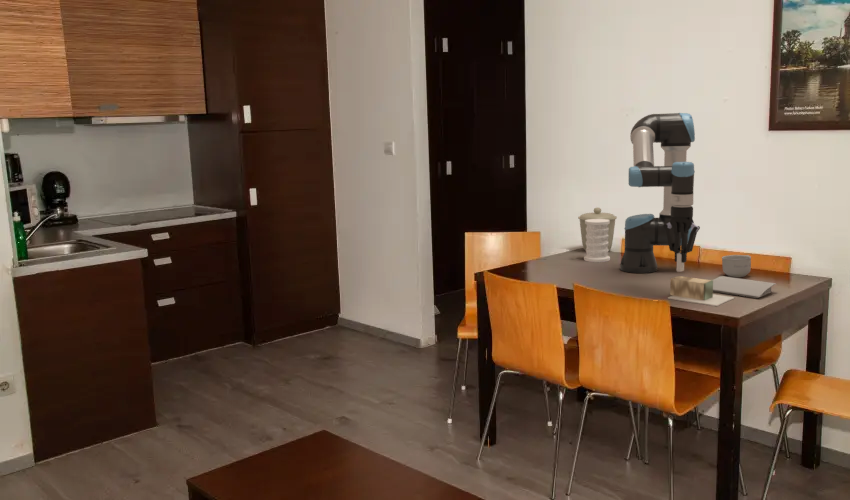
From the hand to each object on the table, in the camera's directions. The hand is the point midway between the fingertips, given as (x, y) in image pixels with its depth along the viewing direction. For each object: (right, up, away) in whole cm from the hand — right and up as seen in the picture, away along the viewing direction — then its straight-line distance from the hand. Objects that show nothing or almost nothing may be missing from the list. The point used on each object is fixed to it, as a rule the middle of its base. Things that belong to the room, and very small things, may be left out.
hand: (680, 270), depth 269 cm
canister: (-8, +7, +93) cm, 94 cm away
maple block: (-1, -5, +3) cm, 6 cm away
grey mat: (+6, -10, -4) cm, 12 cm away
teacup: (+34, -3, +30) cm, 45 cm away
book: (+24, -8, +5) cm, 25 cm away
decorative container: (-13, +3, +72) cm, 73 cm away
